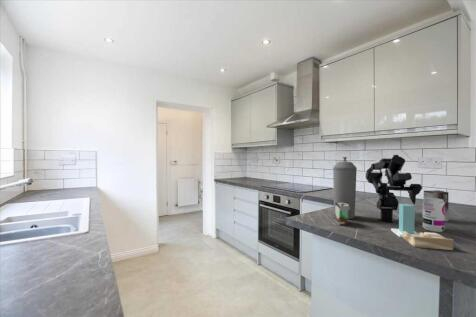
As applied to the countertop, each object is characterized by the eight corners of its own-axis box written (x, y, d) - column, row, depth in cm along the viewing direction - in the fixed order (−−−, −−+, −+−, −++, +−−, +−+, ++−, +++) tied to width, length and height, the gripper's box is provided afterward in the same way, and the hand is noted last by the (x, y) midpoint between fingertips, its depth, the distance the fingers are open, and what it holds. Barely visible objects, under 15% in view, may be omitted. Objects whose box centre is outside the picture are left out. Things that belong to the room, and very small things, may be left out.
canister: (335, 213, 143) (335, 156, 142) (358, 216, 136) (358, 156, 135) (329, 217, 133) (330, 157, 132) (354, 221, 125) (355, 157, 125)
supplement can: (444, 229, 112) (445, 198, 112) (444, 233, 106) (444, 201, 106) (423, 225, 118) (423, 196, 118) (421, 229, 112) (422, 198, 112)
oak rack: (402, 237, 101) (403, 228, 101) (437, 240, 98) (437, 231, 98) (414, 247, 91) (414, 236, 91) (453, 250, 88) (453, 239, 88)
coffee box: (438, 218, 132) (438, 190, 131) (448, 221, 125) (449, 192, 125) (422, 218, 131) (423, 190, 131) (432, 221, 125) (433, 192, 125)
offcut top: (424, 236, 98) (424, 232, 98) (435, 237, 97) (435, 232, 97) (434, 243, 91) (434, 238, 91) (446, 244, 90) (446, 239, 90)
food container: (352, 226, 116) (352, 207, 116) (339, 226, 118) (339, 206, 117) (346, 219, 128) (346, 202, 128) (334, 219, 130) (334, 201, 129)
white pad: (391, 230, 111) (391, 228, 111) (412, 231, 109) (412, 229, 109) (399, 237, 102) (399, 234, 102) (423, 238, 100) (423, 236, 100)
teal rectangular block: (398, 230, 108) (399, 203, 108) (409, 231, 107) (410, 204, 107) (402, 233, 104) (403, 205, 104) (414, 234, 103) (414, 206, 103)
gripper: (377, 166, 116) (386, 192, 105) (420, 167, 111) (433, 193, 101) (372, 180, 123) (379, 205, 113) (412, 181, 119) (423, 207, 109)
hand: (403, 203), depth 109 cm, fingers open, 9 cm apart
